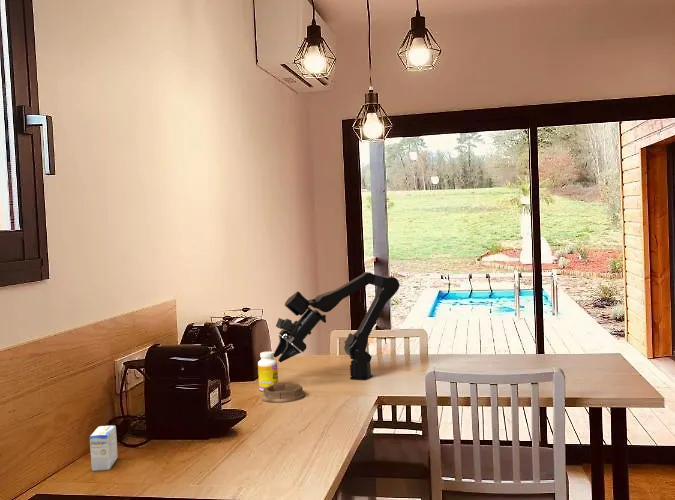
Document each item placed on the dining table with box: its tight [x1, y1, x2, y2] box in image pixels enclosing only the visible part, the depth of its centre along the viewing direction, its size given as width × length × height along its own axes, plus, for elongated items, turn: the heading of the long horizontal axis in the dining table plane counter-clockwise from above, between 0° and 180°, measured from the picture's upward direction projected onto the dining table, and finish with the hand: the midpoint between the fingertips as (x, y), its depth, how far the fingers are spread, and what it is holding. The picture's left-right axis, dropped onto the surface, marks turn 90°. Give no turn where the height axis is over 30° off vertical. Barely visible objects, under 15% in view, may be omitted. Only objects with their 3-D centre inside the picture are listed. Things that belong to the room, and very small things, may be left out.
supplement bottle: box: [257, 351, 279, 392], centre depth 232 cm, size 7×7×13 cm
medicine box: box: [89, 425, 118, 472], centre depth 166 cm, size 8×4×9 cm, turn 5°
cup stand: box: [261, 382, 305, 404], centre depth 222 cm, size 14×14×3 cm
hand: (276, 359), depth 233 cm, fingers open, 9 cm apart
